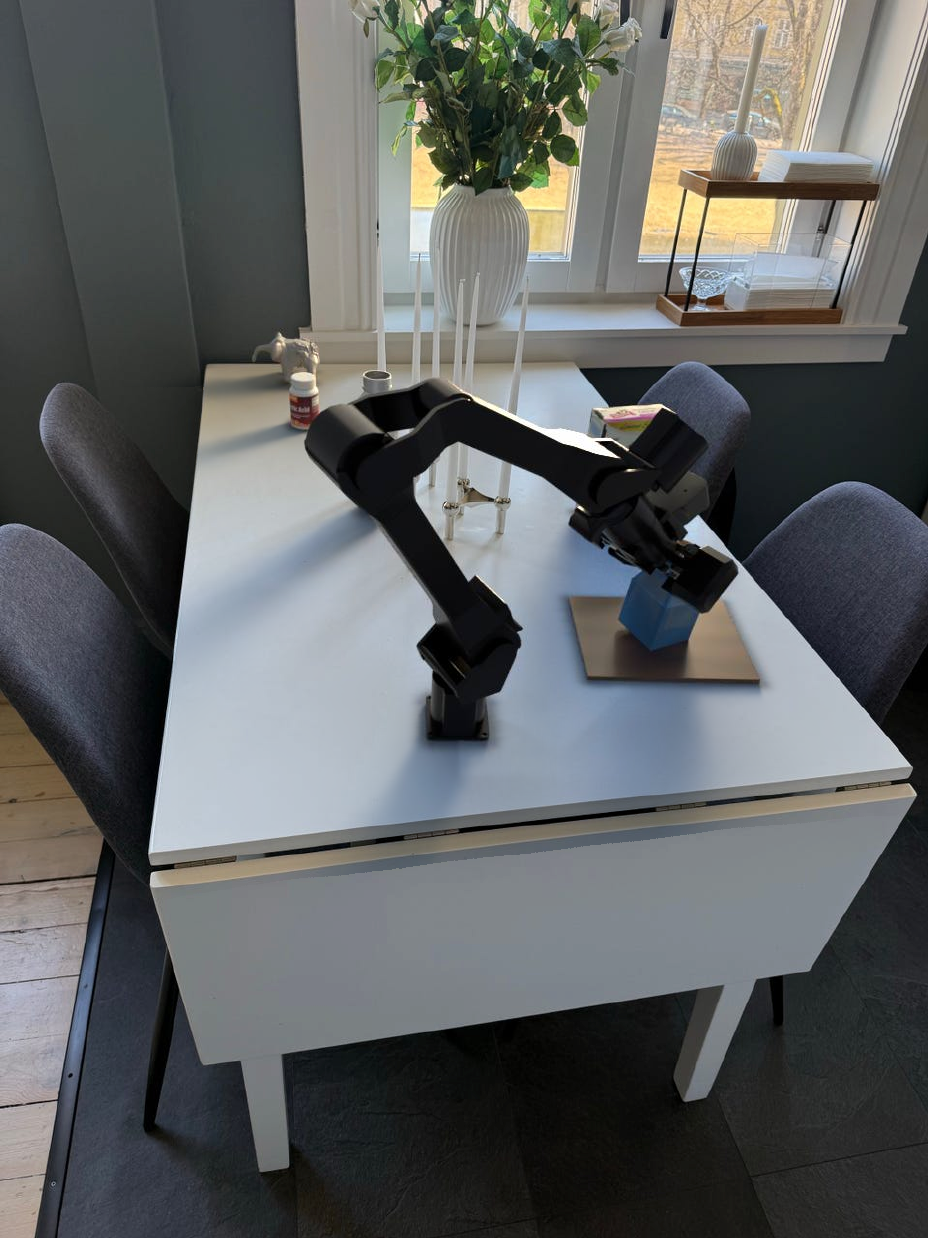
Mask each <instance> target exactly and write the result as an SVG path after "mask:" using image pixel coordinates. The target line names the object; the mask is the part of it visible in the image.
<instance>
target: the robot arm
mask: <svg viewBox="0 0 928 1238" xmlns="http://www.w3.org/2000/svg"><path fill="white" fill-rule="evenodd" d="M358 398H359V397H358ZM358 398H357V399H354V400H352V401H350V402H348V403H338V404H334V405H330V406H328V407H326V408H325V409H323V410H322V411H319V414H318V415H317V416H316V417H315V418H314V419H313V421H312V423H311V425H310V426H309V428H308V430H306V431H307V432H306V435H305V439H304V441H303V444H304V450H305V452H306V454H307V456H308V458H309V459H310V460H311V462H313V464H315V465H316V466H317V468H318V469H319V470H320V471H321V472H322V473H323V474H324V475H325V476H326V477H327V478H328V479H329V480H330V481H331V482H332V483H333V484H334V485H335V486H336V487H337V488H338V489H339V490H340V492H341V493H343V494H344V495H345V497H347V498H348V500H349V501H351V502H352V503H353V504H354V505H355V506H357V508H359V509H360V510H361V511H362V512H364V514H366V515H367V516H368V517H369V518H371V519H372V521H373V522H374V523H375V525H376V526H377V527H378V529H379V530H380V532H381V533H382V535H383V536H384V538H385V539H386V540H387V541H388V543H389V544H390V546H391V547H392V548H393V550H394V551H395V553H396V554H397V555H398V557H399V558H400V560H401V561H402V562H403V564H404V565H405V567H406V569H408V571H409V572H410V573H411V575H412V577H413V578H414V579H415V580H416V582H417V583H418V585H419V586H420V587H421V589H422V590H423V592H424V593H425V594H426V596H427V597H428V598H429V600H430V602H431V605H432V617H433V619H434V622H435V623H434V624H433V625H432V626H431V627H430V629H428V630H427V632H426V633H425V634H424V635H423V637H422V638H421V639H419V641H418V642H417V644H416V645H415V646H416V650H417V652H418V654H419V657H420V658H421V659H422V660H423V661H424V662H425V663H426V665H428V666H429V668H430V669H431V670H432V671H431V686H430V687H431V689H430V695H426V696H425V737H426V739H427V740H429V741H477V742H478V741H479V742H480V741H481V742H483V741H488V740H489V739H490V726H489V725H490V724H489V715H488V703H487V697H490V696H493V695H496V694H499V693H501V692H502V690H503V689H504V685H505V683H506V681H507V679H508V677H509V674H510V672H511V670H512V668H513V666H514V664H515V661H516V659H517V656H518V651H519V649H521V648H522V639H521V636H520V634H519V632H521V631H523V630H524V627H523V626H522V625H521V624H520V623H519V622H518V621H517V620H516V619H515V618H514V616H513V614H512V611H511V608H510V607H509V605H508V603H506V602H505V600H503V599H502V598H501V597H500V596H499V595H498V594H497V593H496V592H495V591H494V590H493V589H492V588H490V587H489V585H488V584H486V582H484V580H482V579H481V578H480V577H479V576H478V575H477V574H474V575H473V577H471V579H470V580H468V578H467V576H466V575H465V574H464V572H463V571H462V569H461V567H460V566H459V565H458V563H457V562H456V560H455V558H454V557H453V555H452V554H451V553H450V551H449V550H448V548H447V545H445V544H444V541H443V540H442V538H441V537H440V536H439V534H438V532H437V531H436V529H435V528H434V526H433V525H432V523H431V522H430V520H429V519H428V517H427V515H426V514H425V513H424V511H423V510H422V508H421V507H420V505H419V503H418V502H417V500H416V495H415V479H414V478H416V477H418V476H420V475H422V474H424V473H425V472H426V471H427V470H428V469H429V468H430V467H431V466H432V465H433V463H435V461H436V460H437V459H438V457H440V455H441V454H442V453H443V452H444V451H445V450H446V449H447V448H448V447H451V446H452V445H454V444H456V443H460V444H462V445H465V446H468V447H470V448H471V449H474V450H476V451H479V452H481V453H484V454H486V455H488V456H491V457H493V458H495V459H498V460H500V461H503V462H505V463H507V464H510V465H512V466H515V467H516V468H519V469H522V470H524V471H526V472H528V473H531V474H533V475H536V476H538V477H540V478H543V479H544V480H545V481H546V482H547V483H549V484H551V485H552V486H553V487H554V488H556V489H557V490H558V491H560V492H561V493H563V495H565V496H566V497H568V498H569V499H571V500H572V501H573V502H575V504H576V503H577V504H579V505H580V506H579V507H576V506H575V507H576V508H574V510H573V513H572V514H571V515H570V516H569V520H568V522H567V525H568V527H569V528H571V529H572V530H573V532H576V533H577V534H578V535H580V537H582V538H583V539H584V540H585V541H587V542H588V543H590V544H591V545H593V546H594V547H596V548H598V549H600V550H604V548H605V547H606V546H608V548H607V554H608V555H609V556H611V557H612V558H614V559H615V560H617V561H619V562H620V563H622V564H623V565H626V566H630V567H634V568H638V569H639V570H641V571H644V572H646V573H647V574H649V575H651V574H652V573H653V572H654V570H655V569H658V570H659V571H661V572H662V573H664V574H668V573H669V571H670V570H671V571H672V573H671V574H670V576H669V577H668V578H667V580H666V581H665V582H664V583H663V585H662V586H661V588H662V589H664V590H665V591H667V592H668V593H670V594H671V595H673V596H675V597H676V598H678V599H680V600H681V601H682V602H684V603H685V604H687V605H688V606H690V607H691V608H693V609H694V610H696V611H698V612H699V613H701V614H703V613H707V612H709V611H710V610H711V609H712V607H713V606H714V605H715V603H716V602H717V601H718V600H720V598H721V597H722V596H723V595H724V593H725V592H726V591H727V589H728V588H729V587H730V586H731V584H732V583H733V582H734V580H735V579H736V578H737V576H738V575H739V567H738V565H737V563H736V562H735V560H734V559H732V558H730V557H729V556H727V555H725V554H724V553H722V552H720V551H719V550H717V549H715V548H713V547H712V546H710V545H708V544H706V545H705V546H703V547H702V546H700V545H699V544H696V543H694V542H693V543H692V544H686V545H684V546H682V545H680V544H678V543H677V540H679V541H680V542H681V541H682V540H685V538H686V536H687V535H688V534H689V531H688V530H687V529H686V527H685V526H687V525H689V524H690V523H691V522H692V521H693V520H695V518H697V517H698V516H699V515H700V514H701V513H702V512H705V511H706V510H707V509H708V508H709V507H710V495H709V487H708V486H709V485H708V482H707V480H706V479H705V478H703V477H701V476H699V475H697V474H695V473H693V472H691V471H690V470H691V469H692V468H693V467H694V465H695V464H696V463H697V462H698V461H699V460H700V458H701V457H702V456H703V455H704V454H705V453H706V452H707V451H708V450H709V448H710V444H709V443H708V441H707V440H706V438H705V437H704V436H703V435H701V434H700V433H698V432H696V431H695V429H693V427H691V426H690V425H689V424H688V423H686V422H685V421H683V419H681V418H680V416H679V414H678V413H676V412H675V411H672V410H671V409H670V408H668V407H666V406H665V407H662V408H661V409H660V410H659V411H658V413H657V414H656V415H655V416H654V418H653V419H652V421H651V423H650V424H649V425H648V426H647V427H646V429H645V430H644V431H643V432H642V433H641V434H640V435H639V437H638V438H637V439H636V440H635V441H634V442H633V443H632V445H631V446H630V447H629V448H628V449H629V450H628V449H626V448H625V447H623V446H622V445H620V444H619V443H617V442H615V441H614V440H612V439H611V438H604V439H591V438H589V437H588V436H587V435H586V434H585V433H581V432H576V431H572V430H567V429H563V428H556V429H547V428H542V427H540V426H538V425H536V424H533V423H531V422H529V421H527V420H526V419H523V418H521V417H518V416H517V415H514V414H513V413H510V412H508V411H506V410H504V409H503V408H500V407H498V406H496V405H494V404H492V403H491V402H490V403H489V402H488V401H486V400H483V399H481V398H479V397H477V396H475V395H473V394H471V393H469V392H467V391H465V390H462V389H461V388H460V387H459V386H457V385H455V384H454V383H453V382H452V381H450V380H448V379H447V378H444V377H431V378H427V379H424V380H422V381H420V382H418V383H416V384H413V385H411V386H409V387H405V388H397V389H391V391H385V392H379V393H373V394H369V395H365V396H363V397H361V398H359V399H358ZM410 429H412V430H411V431H410V432H409V433H406V434H404V435H402V436H399V437H398V438H397V439H396V440H395V439H394V438H392V437H391V436H390V435H389V434H388V433H387V432H394V431H398V432H400V431H406V430H410ZM674 551H675V553H676V554H677V553H678V555H676V554H675V553H674ZM680 554H682V555H683V556H682V555H680ZM666 562H667V563H669V564H671V566H669V565H668V564H666Z"/></svg>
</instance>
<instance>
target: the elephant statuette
mask: <svg viewBox="0 0 928 1238" xmlns="http://www.w3.org/2000/svg"><path fill="white" fill-rule="evenodd" d="M319 349H320V347H319V346H317V345H316V344H315V343H314V342H313V341H312V342H311V341H310V340H309V339H307V338H306V337H302V338H296V337H295V338H294V339H292V338H286V337H284V336H282V334H281V333H280V331H276V333H275V334H274V339H272V340H271V341H270V342H269V343H267V344H262V345H258V346H256V347H255V349H254V352H253V355H252V356H251V361H252V362H253V363H255V362H256V361H257V356H258V354H259V353H260V352H261V351H264V352H268V354H270V359H271V360H272V361H273V362H276V363H279V364H280V366H281V370H282V373H283V381H284V382H285V383H287V384H291V376H292V375H293V371H294V370H295V368H297V369H299V368H300V369H301V368H304V369H306V372H307V373H311V374H313V375H315V377H316V375H317V368H318V366H320V364H321V363H320V362H321V361H320V356H319ZM316 378H317V377H316Z"/></svg>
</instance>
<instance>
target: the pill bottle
mask: <svg viewBox="0 0 928 1238" xmlns="http://www.w3.org/2000/svg"><path fill="white" fill-rule="evenodd" d="M288 394H289V413H290V425H291V426H292V427H293V428H294V429H298V430H304V431H308V428H309V426H310V425H311V423H312V421H313V419H314V418H315V417H316V416H317V415H318V414H319V413H320V407H319V406H320V405H319V404H320V403H319V388H318V387H317V377H315V375H313V374H311V373H308V372H307V371H306V372H305V371H299V372H295V373H292V376H291V383H290V387H289V390H288Z"/></svg>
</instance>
